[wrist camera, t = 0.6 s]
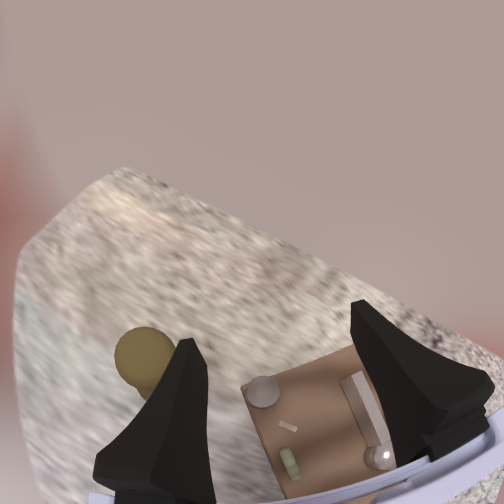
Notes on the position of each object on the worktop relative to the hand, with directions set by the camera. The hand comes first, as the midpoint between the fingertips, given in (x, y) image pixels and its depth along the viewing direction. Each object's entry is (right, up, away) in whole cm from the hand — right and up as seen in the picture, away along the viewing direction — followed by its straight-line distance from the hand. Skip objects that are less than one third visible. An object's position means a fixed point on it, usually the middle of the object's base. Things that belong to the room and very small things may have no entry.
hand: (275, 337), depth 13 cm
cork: (-11, -10, +16) cm, 22 cm away
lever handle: (+11, -15, +14) cm, 23 cm away
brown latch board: (+9, -17, +14) cm, 24 cm away
